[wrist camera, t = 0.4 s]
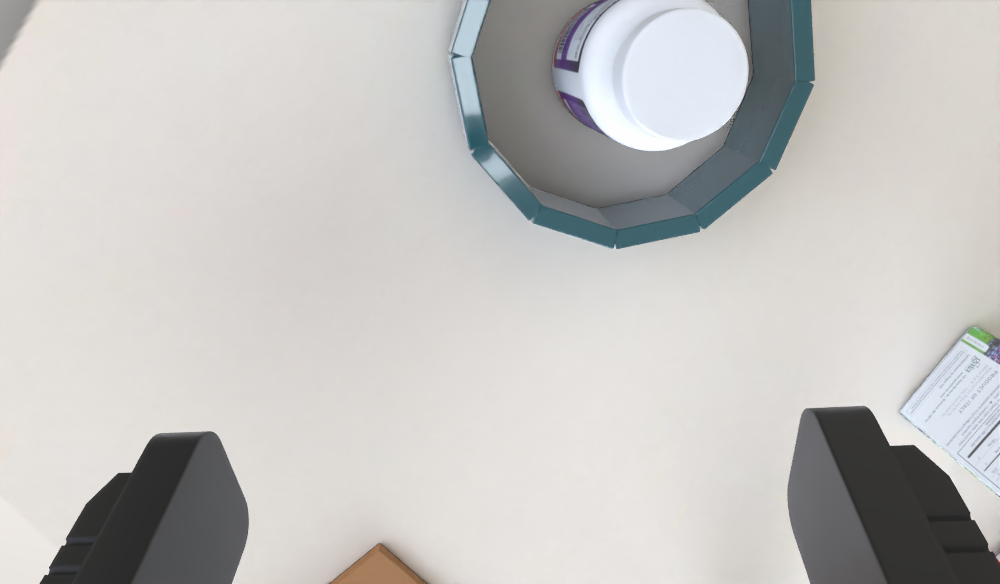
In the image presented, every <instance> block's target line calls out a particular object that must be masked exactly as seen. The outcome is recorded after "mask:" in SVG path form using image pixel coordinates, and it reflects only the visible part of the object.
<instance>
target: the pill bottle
mask: <svg viewBox="0 0 1000 584" xmlns="http://www.w3.org/2000/svg"><path fill="white" fill-rule="evenodd" d="M748 71H749V66H748V58H747V53H746V49H745V46H744V44H743V42H742V39H741V38H740V36H739V34H738V33H737V31H736V30H735V29H734V28H733V26H732V25H731V24H730V23H728V22H727V21H726V20H725V19H724V18H722V17H721V16H720V15H719V14H718V13H717V12H716V10H715V9H714V8H713V7H712V6H710V5H709V4H708V3H707V2H705V1H704V0H600V1H597V2H595V3H593V4H591V5H589V6H587V7H585V8H584V9H582V10H581V11H580V12H578V13H577V14H576V15H575V16H574V17H573V18H572V19H571V20H570V21H569V22H568V24H567V25H566V26H565V27H564V29H563V31H562V32H561V34H560V36H559V38H558V41H557V43H556V47H555V50H554V55H553V64H552V72H553V80H554V85H555V88H556V91H557V93H558V95H559V97H560V99H561V101H562V103H563V104H564V106H565V107H566V109H567V110H568V111H569V112H570V113H571V114H572V115H573V116H574V117H575V118H577V119H578V120H579V121H580V122H582V123H583V124H585V125H587V126H588V127H590V128H592V129H594V130H596V131H598V132H600V133H601V134H603V135H605V136H607V137H609V138H611V139H613V140H614V141H616V142H618V143H621V144H623V145H625V146H628V147H631V148H634V149H639V150H645V151H662V150H669V149H673V148H676V147H679V146H682V145H684V144H686V143H688V142H690V141H693V140H697V139H700V138H703V137H705V136H707V135H710V134H711V133H713V132H715V131H716V130H718V129H719V128H720V127H722V126H723V125H724V124H725V123H726V122H727V121H728V120H729V119H730V118H731V117H732V115H733V114H734V113H735V111H736V110H737V108H738V107H739V105H740V103H741V101H742V99H743V96H744V94H745V90H746V86H747V82H748Z"/></svg>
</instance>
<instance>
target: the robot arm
mask: <svg viewBox="0 0 1000 584" xmlns="http://www.w3.org/2000/svg"><path fill="white" fill-rule="evenodd" d="M788 509H789V516H790V521H791V526H792V529H793V533H794V536H795V539H796V542H797V545H798V548H799V551H800V554H801V557H802V560H803V563H804V565H805V568H806V571H807V574H808V577H809V580H810V583H811V584H1000V563H999V562H998V560H997V558H996V557H995V555H994V553H993V552H990V551H989V549H988V543H987V541H986V539H985V537H984V536H983V534H982V532H981V531H980V529H979V527H978V525H977V524H976V522H975V520H971V518H970V511H969V510H968V508H967V506H966V504H965V503H964V501H963V499H962V498H961V496H960V494H959V492H958V491H957V489H956V487H955V485H954V484H953V482H952V480H951V478H950V477H949V475H947V474H946V473H945V472H944V471H943V470H942V469H941V468H939V467H938V466H937V465H936V464H935V463H934V462H933V461H931V460H930V459H929V458H928V457H927V456H926V455H925V454H924V453H922V452H921V451H920V450H919V449H918V448H917V447H916V446H914V445H904V446H890V445H889V443H888V441H887V439H886V437H885V435H884V434H883V432H882V430H881V428H880V426H879V424H878V422H877V420H876V418H875V416H874V415H873V413H872V412H871V410H870V409H868V408H867V407H865V406H853V407H829V408H806V409H805V410H804V411H803V413H802V415H801V419H800V424H799V429H798V435H797V440H796V445H795V450H794V456H793V461H792V466H791V471H790V477H789V482H788ZM248 526H249V517H248V507H247V503H246V500H245V497H244V495H243V493H242V490H241V488H240V486H239V483H238V481H237V478H236V476H235V474H234V471H233V469H232V467H231V464H230V462H229V460H228V457H227V455H226V452H225V450H224V448H223V445H222V443H221V441H220V439H219V437H218V436H217V435H216V434H215V433H214V432H211V431H209V432H185V433H161V434H157V435H155V436H154V437H153V438H152V439H151V440H150V441H149V443H148V444H147V446H146V448H145V449H144V451H143V453H142V455H141V457H140V459H139V460H138V462H137V464H136V466H135V468H134V470H133V471H132V473H118V474H117V475H116V476H115V477H114V478H113V479H112V480H111V481H110V482H109V483H108V484H106V485H105V486H104V487H103V488H102V489H101V490H100V491H99V492H98V493H97V494H96V495H95V496H94V497H93V498H92V499H91V500H90V501H89V502H88V503H87V504H86V505H85V507H84V509H83V510H82V512H81V514H80V516H79V517H78V519H77V521H76V522H75V524H74V526H73V528H72V529H71V531H70V533H69V534H68V536H67V538H66V541H67V542H66V545H65V546H61V548H60V550H59V552H58V553H57V555H56V557H55V558H54V560H53V562H52V564H51V565H50V567H49V569H50V572H49V574H48V575H45V576H44V578H43V579H42V581H41V582H40V584H232V582H233V579H234V576H235V573H236V570H237V567H238V565H239V562H240V559H241V556H242V553H243V550H244V548H245V544H246V540H247V535H248Z"/></svg>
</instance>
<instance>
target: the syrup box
mask: <svg viewBox="0 0 1000 584" xmlns="http://www.w3.org/2000/svg"><path fill="white" fill-rule="evenodd" d="M900 414H901V415H903V416H904V417H905V418H906V419H907V420H909V421H910V422H911V423H912V424H913V425H914V426H916V427H917V428H918V429H919V430H920V431H921V432H923V433H924V434H925V435H926V436H927V437H928V438H930V439H931V440H932V441H933V442H934V443H936V444H937V445H938V446H939V447H940V448H942V449H943V450H944V451H945V452H947V453H948V454H949V455H950V456H951V457H952V458H954V459H955V460H956V461H957V462H958V463H960V464H961V465H962V466H963V467H964V468H965V469H967V470H968V471H969V472H970V473H971V474H973V475H974V476H975V477H976V478H977V479H979V480H980V481H981V482H982V483H983V484H985V485H986V486H987V487H988V488H989V489H991V490H992V491H993V492H994V493H995V494H997V495H998V496H999V497H1000V340H999V339H997V338H995V337H994V336H992V335H990V334H988V333H987V332H985V331H983V330H982V329H980V328H978V327H976V326H973V327H971V328H969V329H968V330H967V331H966V333H965V334H964V335H963V336H962V337H961V338H960V339H959V341H958V342H957V343H956V344H955V345H954V346H953V348H952V349H951V350H950V351H949V352H948V354H947V355H946V356H945V357H944V358H943V359H942V361H941V362H940V363H939V364H938V365H937V366H936V368H935V369H934V370H933V371H932V373H931V374H930V375H929V376H928V377H927V378H926V380H925V381H924V382H923V383H922V385H921V386H920V387H919V388H918V389H917V391H916V392H915V393H914V394H913V395H912V397H911V398H910V399H909V401H908V402H907V403H906V404H905V405H904V406H903V408H902V409H901V410H900Z"/></svg>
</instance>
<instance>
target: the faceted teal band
mask: <svg viewBox="0 0 1000 584" xmlns="http://www.w3.org/2000/svg"><path fill="white" fill-rule="evenodd" d="M489 3H490V0H463V3H462V6H461V10H460V13H459V16H458V19H457V22H456V26H455V29H454V32H453V35H452V38H451V41H450V45H449V48H448V50H449V51H450V52H451V54H449V55H448V59H449V64H450V69H451V74H452V79H453V84H454V89H455V94H456V99H457V104H458V109H459V113H460V118H461V123H462V128H463V133H464V137H465V140H466V143H467V145H468V148H469V150H470V152H471V155H472V156H473V158H474V159H475V160H476V161H477V162H478V163H479V164H480V166H481V167H482V168H483V169H484V170H485V171H486V172H487V173H488V175H489V176H490V177H491V178H492V179H493V180H494V181H495V183H496V184H497V185H498V186H499V187H500V188H501V189H502V191H503V192H504V193H505V194H506V195H507V196H508V197H509V199H510V200H511V201H512V202H513V203H514V204H515V205H516V206H517V208H518V209H519V210H520V211H521V212H522V213H523V214H524V216H525V217H526V218H527V219H528V220H531V221H532V222H533V223H534V224H537V225H540V226H543V227H546V228H549V229H552V230H555V231H558V232H562V233H565V234H568V235H571V236H574V237H577V238H580V239H583V240H586V241H589V242H592V243H595V244H599V245H602V246H605V247H608V248H611V249H613V248H614V246H615V247H616V249H620V248H625V247H630V246H634V245H639V244H644V243H649V242H654V241H658V240H663V239H668V238H673V237H678V236H682V235H687V234H692V233H697V232H700V228H702V229H703V230H704V229H706V228H707V227H708V226H709V225H710V224H712V223H713V222H714V221H715V220H717V219H718V218H719V217H720V216H721V215H723V214H724V213H725V212H726V211H727V210H729V209H730V208H731V207H732V206H734V205H735V204H736V203H737V202H738V201H740V200H741V199H742V198H743V197H745V196H746V195H747V194H748V193H749V192H751V191H752V190H753V189H754V188H755V187H757V186H758V185H759V184H760V183H762V182H763V181H764V180H765V179H766V178H768V177H769V176H770V175H771V174H772V171H771V170H770V168H771V169H773V170H776V168H777V166H778V163H779V161H780V159H781V157H782V155H783V152H784V150H785V148H786V146H787V144H788V141H789V139H790V137H791V135H792V132H793V130H794V128H795V126H796V124H797V121H798V119H799V117H800V115H801V112H802V110H803V108H804V106H805V104H806V101H807V99H808V97H809V95H810V92H811V90H812V88H813V86H814V84H812V83H809V82H810V81H814V80H815V74H814V53H813V33H812V13H811V0H748V4H749V17H750V31H751V44H752V57H753V71H754V76H753V79H752V81H751V83H750V86H749V88H748V90H747V93H746V95H745V97H744V100H743V102H742V104H741V107H740V109H739V111H738V114H737V116H736V118H735V121H734V123H733V125H732V128H731V130H730V132H729V135H728V137H727V139H726V142H725V144H724V146H723V148H721V149H720V150H719V151H718V152H717V153H715V154H714V155H713V156H712V157H711V158H709V159H708V160H707V161H706V162H705V163H703V164H702V165H701V166H700V167H699V168H697V169H696V170H695V171H694V172H693V173H691V174H690V175H689V176H688V177H687V178H686V179H684V180H683V181H682V182H681V183H680V184H678V185H677V186H676V187H675V188H674V189H672V190H671V191H670V192H669V193H668V194H666V195H661V196H656V197H651V198H647V199H642V200H637V201H632V202H627V203H622V204H618V205H613V206H608V207H603V208H598V209H596V208H593V207H590V206H587V205H584V204H581V203H578V202H575V201H572V200H569V199H566V198H563V197H560V196H557V195H554V194H551V193H548V192H545V191H542V190H539V189H536V188H533V187H530V186H529V185H528V184H527V182H526V181H525V180H524V179H523V178H522V177H521V176H520V174H519V173H518V172H517V171H516V170H515V169H514V167H513V166H512V165H511V164H510V163H509V162H508V160H507V159H506V158H505V157H504V156H503V155H502V153H501V152H500V151H499V150H498V149H497V148H496V147H495V145H494V144H493V143H492V142H491V141H490V140H489V138H488V136H487V131H486V125H485V120H484V115H483V110H482V104H481V99H480V94H479V89H478V84H477V78H476V73H475V68H474V63H473V58H472V56H473V53H474V50H475V47H476V44H477V41H478V38H479V34H480V31H481V28H482V25H483V22H484V19H485V16H486V13H487V10H488V7H489Z"/></svg>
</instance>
